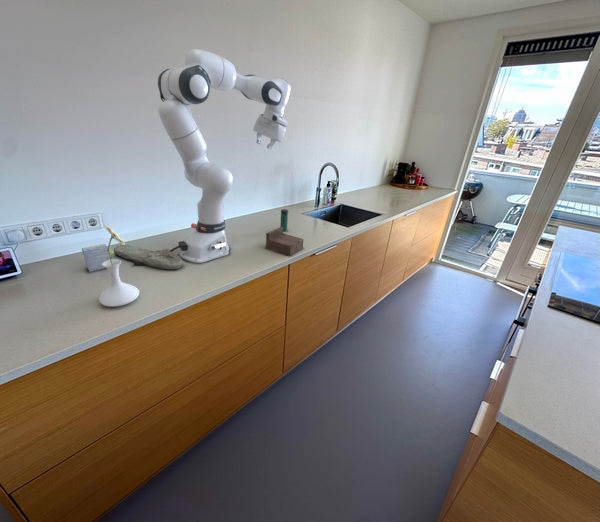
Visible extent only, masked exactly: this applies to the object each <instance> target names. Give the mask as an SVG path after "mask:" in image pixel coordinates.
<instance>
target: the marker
mask: <svg viewBox="0 0 600 522" xmlns="http://www.w3.org/2000/svg"><path fill="white" fill-rule="evenodd" d="M288 225H289V209H286V208H282V209H280V226H279V228H280V227H282V228H283V233H284V232H288Z"/></svg>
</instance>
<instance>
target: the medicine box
mask: <svg viewBox="0 0 600 522" xmlns="http://www.w3.org/2000/svg"><path fill="white" fill-rule="evenodd" d="M81 252H82V255H83V258H84V261H85V265H86V268H87V269H88V272H89V273H92V272H96V271H100V270H104V269H107V268H106V267H104V266H103V265H102V263H103V262H105V261H107V260H110V258H108V257H109V253H108V244H106V243H102V244H96V245H95V244H94V245H91V246H85V247H81ZM107 258H108V259H107Z"/></svg>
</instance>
